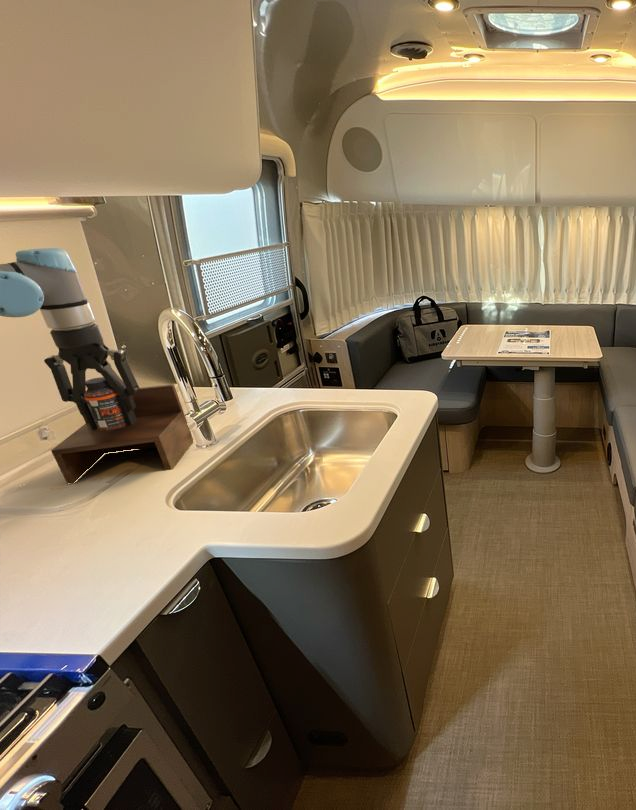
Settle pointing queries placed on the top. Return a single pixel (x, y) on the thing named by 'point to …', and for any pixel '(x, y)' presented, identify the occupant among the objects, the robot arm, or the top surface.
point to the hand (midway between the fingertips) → (115, 425)
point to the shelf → (131, 434)
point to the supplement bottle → (104, 404)
